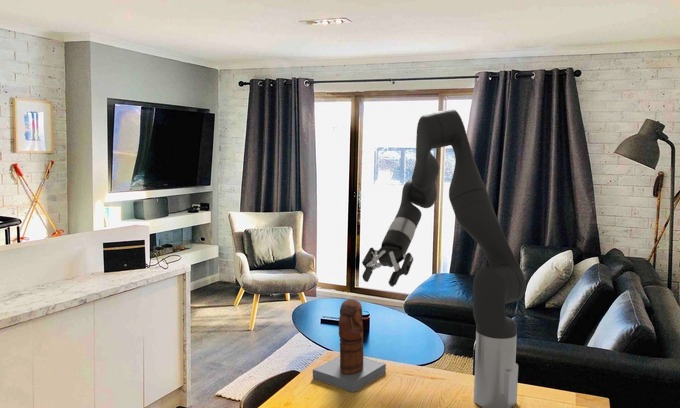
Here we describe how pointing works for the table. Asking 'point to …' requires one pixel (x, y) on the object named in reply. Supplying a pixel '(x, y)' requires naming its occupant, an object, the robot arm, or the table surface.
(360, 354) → the wooden figurine
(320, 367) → the base
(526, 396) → the table surface
